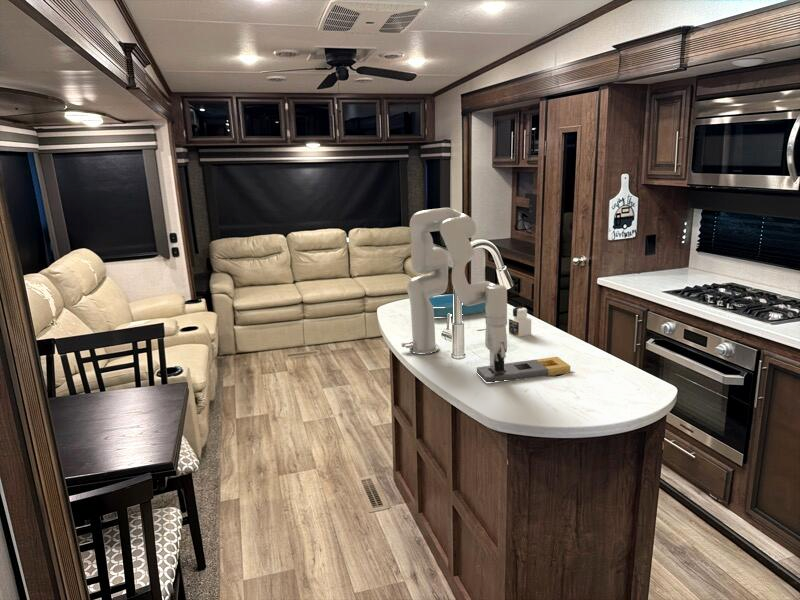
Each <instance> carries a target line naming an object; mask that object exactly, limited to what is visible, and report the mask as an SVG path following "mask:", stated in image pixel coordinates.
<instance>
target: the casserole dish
mask: <svg viewBox="0 0 800 600" xmlns="http://www.w3.org/2000/svg"><path fill="white" fill-rule="evenodd" d="M429 301H430V302H431V304H432V305H433V307H445V308H434V317H447V314H448V313H450V314H452V317H451V318H454V317H453V293H452V294H446V295H444V294H443V295H438V296H434V297H430V298H429ZM484 310H485V302H484V303H480V304H476V305H473V306H466V305H464V304H463V305H462V314H463V315H464V316H468V315H467V314H470V315H474V313H476V314H479V313H482V312H483V311H484Z"/></svg>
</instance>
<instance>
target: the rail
mask: <svg viewBox="0 0 800 600" xmlns="http://www.w3.org/2000/svg"><path fill="white" fill-rule="evenodd" d="M504 368H505V372H502V373H495V374H493V373H492V372H491V371H490V365H486V366H478V367H476V374H477V373H478V374H479V375H480V376H481V377H482V378H483V379H484V380H485V381H486V382H495V381H504V380H512V381H517V380H516V379H520V380H526V379H525V378H527V379H532V378H540V377H547V376H554V375H555V376H556V375H562V374H567V372H569V373H571V365H570V364H569V363H567V362H566V361H564V360H563V359H561V358H560V357H559V356H553V357H545V358H537V359H530V360H523V361H516V362H508V363H504ZM478 374H477V375H478Z"/></svg>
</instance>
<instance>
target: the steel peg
mask: <svg viewBox="0 0 800 600" xmlns="http://www.w3.org/2000/svg"><path fill="white" fill-rule="evenodd" d="M499 352H500V351H499ZM500 355H501V354H498V357H499V356H500ZM495 361H496V355H495V354H493V353H492V352H491V351H490V350H489V366H490V371H491V372H492V373H493V374H495V373H502V372H505V368H504V371H499V372H496V371H495Z"/></svg>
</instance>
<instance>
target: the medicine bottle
mask: <svg viewBox="0 0 800 600" xmlns="http://www.w3.org/2000/svg"><path fill="white" fill-rule="evenodd" d="M508 334H510V335H513V336H514V337H517V338H521V337H525V336H526V337H527V336H529V335H530V336H531V335H532V319H531V318H530V317H528V309H527V308H526V307H524V306H516V307H514V308H512V317H509V318H508Z"/></svg>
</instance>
